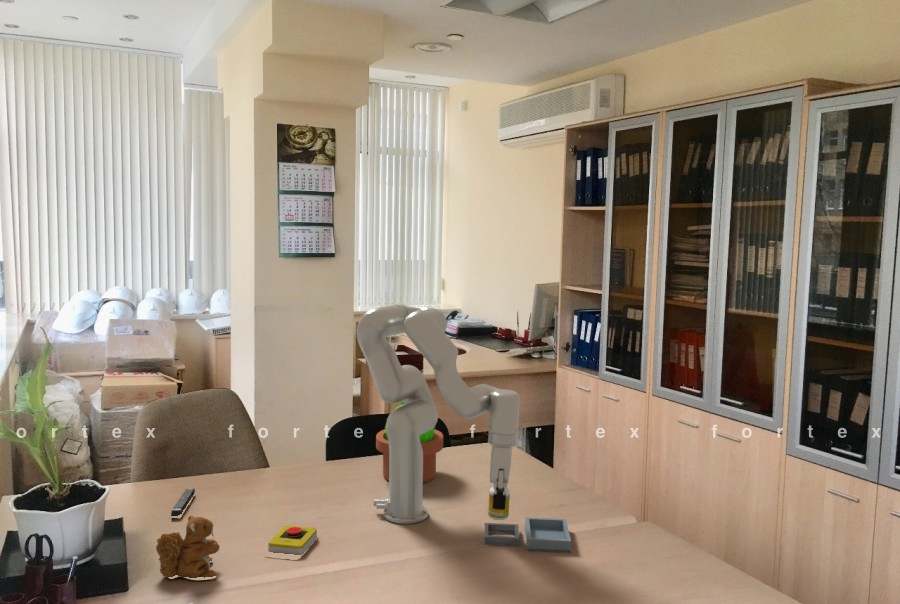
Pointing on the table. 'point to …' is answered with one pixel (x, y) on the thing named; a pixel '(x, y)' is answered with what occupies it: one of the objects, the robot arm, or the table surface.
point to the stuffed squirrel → (188, 550)
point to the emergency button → (292, 540)
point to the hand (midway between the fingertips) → (498, 503)
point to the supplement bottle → (498, 513)
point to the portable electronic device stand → (182, 502)
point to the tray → (547, 535)
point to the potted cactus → (430, 447)
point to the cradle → (501, 539)
